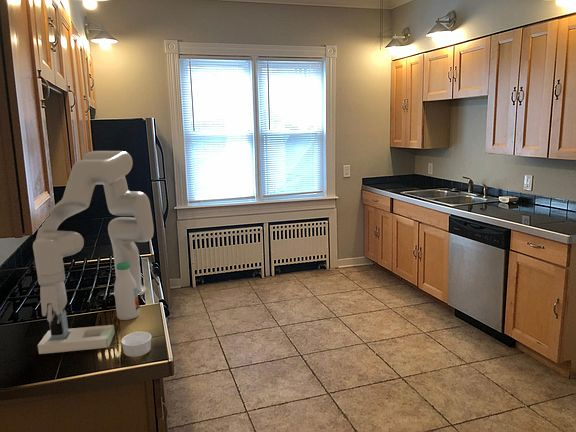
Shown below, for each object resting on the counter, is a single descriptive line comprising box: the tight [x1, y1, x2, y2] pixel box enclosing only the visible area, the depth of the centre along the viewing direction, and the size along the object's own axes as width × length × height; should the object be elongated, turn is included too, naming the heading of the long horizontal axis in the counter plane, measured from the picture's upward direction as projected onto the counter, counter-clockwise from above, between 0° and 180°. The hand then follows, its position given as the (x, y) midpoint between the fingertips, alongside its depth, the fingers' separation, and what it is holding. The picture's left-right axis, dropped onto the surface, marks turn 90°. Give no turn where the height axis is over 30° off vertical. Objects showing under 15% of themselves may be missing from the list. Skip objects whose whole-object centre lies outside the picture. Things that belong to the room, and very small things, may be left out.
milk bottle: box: [113, 262, 140, 321], centre depth 169 cm, size 8×8×20 cm
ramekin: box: [121, 331, 152, 358], centre depth 146 cm, size 9×9×4 cm
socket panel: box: [37, 324, 115, 355], centre depth 152 cm, size 10×21×3 cm, turn 99°
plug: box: [48, 310, 69, 341], centre depth 150 cm, size 4×4×11 cm
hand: (59, 330), depth 150 cm, fingers closed on plug, 4 cm apart
